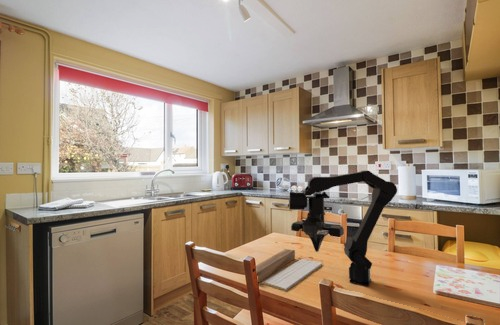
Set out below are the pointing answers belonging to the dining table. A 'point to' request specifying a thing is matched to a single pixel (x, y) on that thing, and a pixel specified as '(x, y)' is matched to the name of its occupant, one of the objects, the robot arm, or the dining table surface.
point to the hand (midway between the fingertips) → (317, 251)
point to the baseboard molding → (292, 274)
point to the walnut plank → (274, 263)
